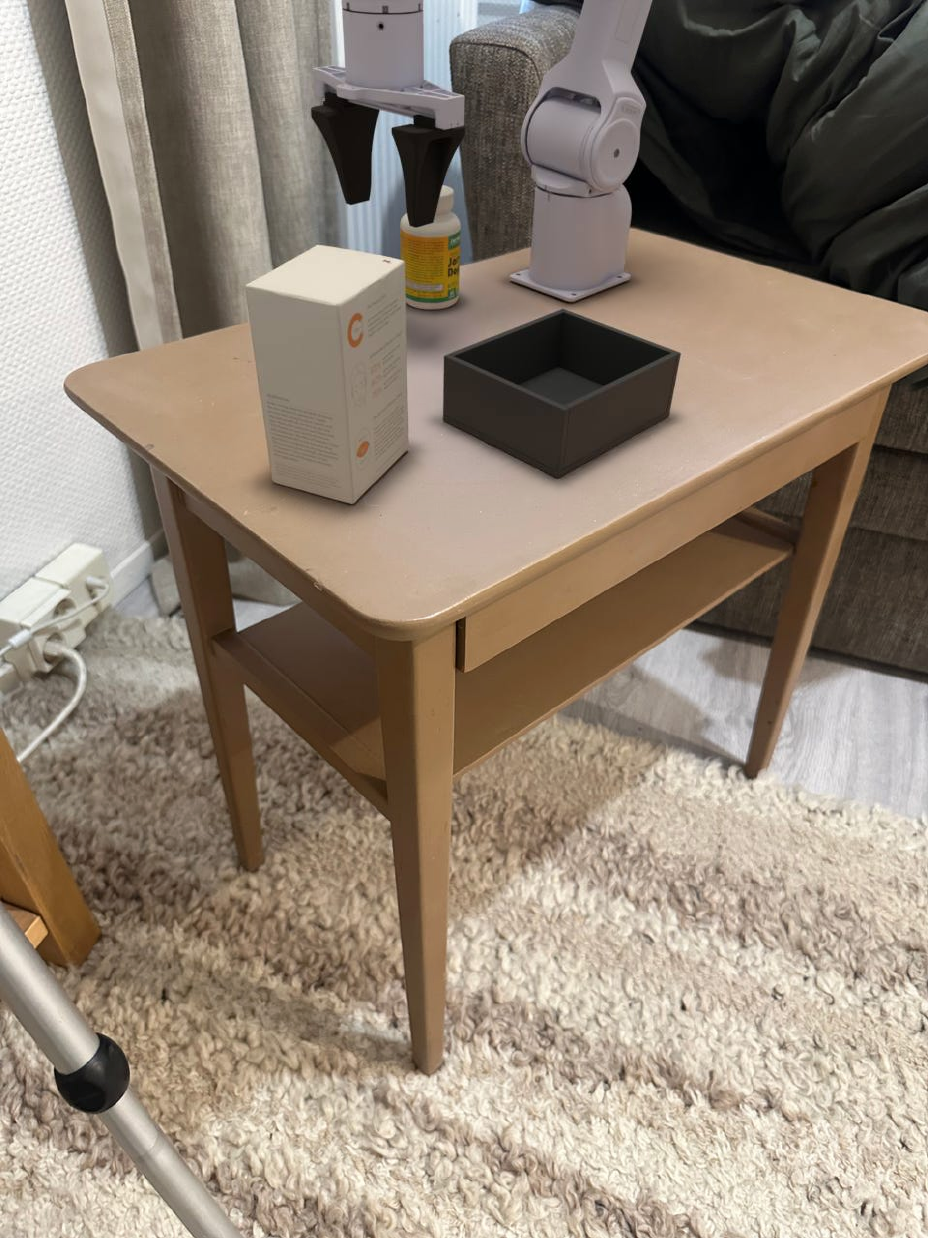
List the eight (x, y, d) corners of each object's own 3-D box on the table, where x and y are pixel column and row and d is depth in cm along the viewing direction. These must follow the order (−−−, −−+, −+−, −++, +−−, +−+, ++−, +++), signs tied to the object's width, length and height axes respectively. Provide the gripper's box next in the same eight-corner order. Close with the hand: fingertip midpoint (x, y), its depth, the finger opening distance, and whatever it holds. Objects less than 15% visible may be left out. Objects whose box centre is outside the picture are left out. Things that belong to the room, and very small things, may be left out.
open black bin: (556, 368, 73) (562, 308, 70) (669, 416, 67) (681, 352, 64) (442, 420, 66) (443, 355, 63) (557, 478, 60) (564, 410, 57)
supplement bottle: (406, 287, 86) (405, 179, 80) (462, 291, 85) (465, 182, 79) (397, 308, 82) (394, 196, 75) (455, 312, 81) (458, 200, 75)
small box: (331, 429, 64) (317, 241, 56) (411, 449, 62) (408, 258, 54) (268, 483, 59) (241, 282, 50) (352, 507, 57) (340, 303, 48)
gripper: (273, 1, 65) (292, 201, 73) (411, 26, 57) (414, 246, 66) (349, -6, 68) (358, 186, 77) (487, 17, 61) (480, 226, 70)
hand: (388, 212), depth 72 cm, fingers open, 7 cm apart
